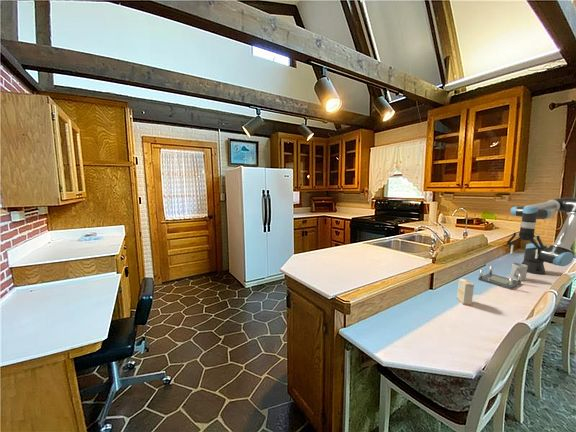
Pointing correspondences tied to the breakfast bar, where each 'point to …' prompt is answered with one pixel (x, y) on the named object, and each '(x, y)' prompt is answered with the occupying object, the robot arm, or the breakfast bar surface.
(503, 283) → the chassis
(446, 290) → the breakfast bar surface
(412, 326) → the breakfast bar surface
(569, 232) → the robot arm
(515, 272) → the mug
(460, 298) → the supplement box
